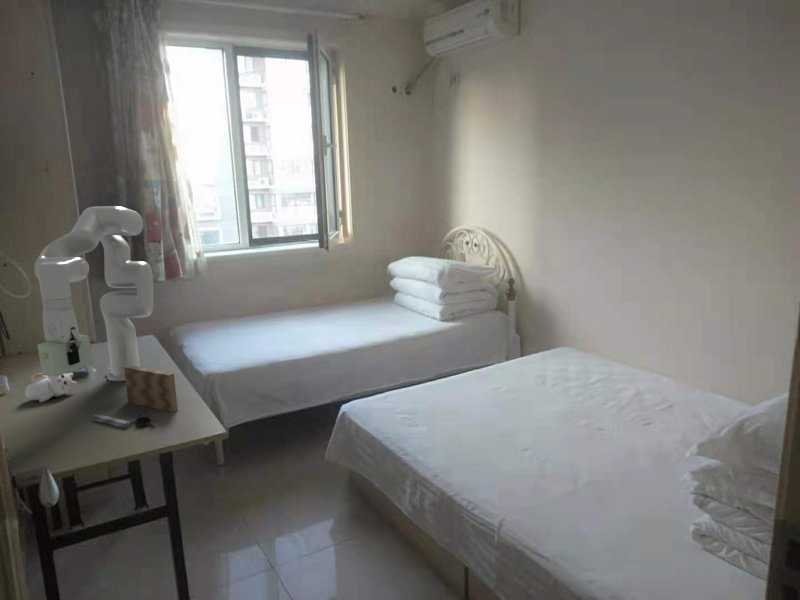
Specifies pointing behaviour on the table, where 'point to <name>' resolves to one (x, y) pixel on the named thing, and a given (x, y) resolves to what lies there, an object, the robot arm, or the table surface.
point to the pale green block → (63, 357)
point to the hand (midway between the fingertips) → (67, 361)
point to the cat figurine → (49, 386)
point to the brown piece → (146, 392)
